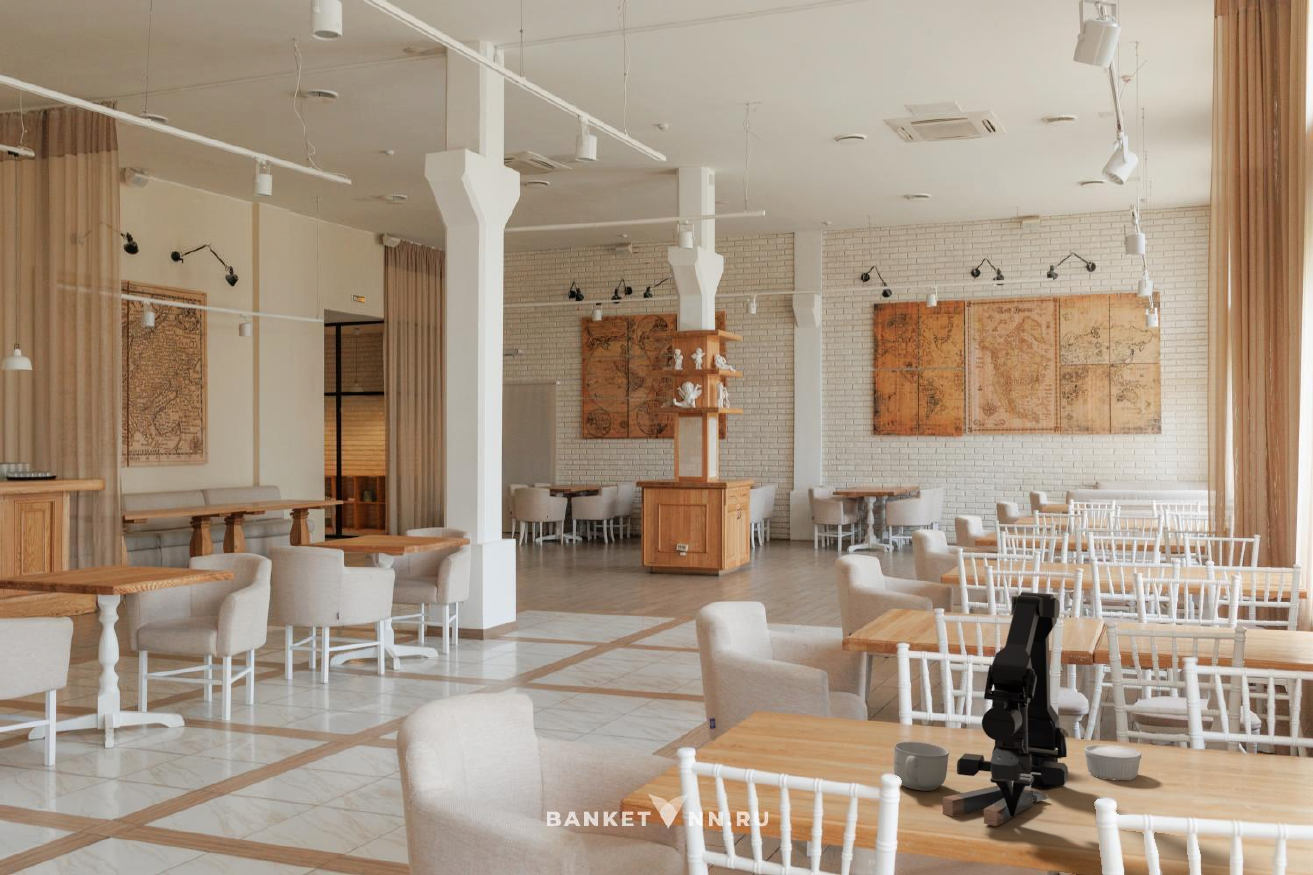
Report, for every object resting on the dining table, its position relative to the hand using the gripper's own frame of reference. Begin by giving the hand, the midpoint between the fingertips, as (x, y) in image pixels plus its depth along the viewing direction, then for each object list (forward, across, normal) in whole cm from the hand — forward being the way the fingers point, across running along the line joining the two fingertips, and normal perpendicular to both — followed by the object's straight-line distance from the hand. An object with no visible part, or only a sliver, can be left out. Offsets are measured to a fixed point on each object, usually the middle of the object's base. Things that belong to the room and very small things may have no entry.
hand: (1012, 816), depth 208 cm
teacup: (+1, -21, +14) cm, 25 cm away
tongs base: (+1, -4, +9) cm, 10 cm away
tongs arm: (+1, -1, +5) cm, 5 cm away
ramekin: (+2, +13, +44) cm, 46 cm away
